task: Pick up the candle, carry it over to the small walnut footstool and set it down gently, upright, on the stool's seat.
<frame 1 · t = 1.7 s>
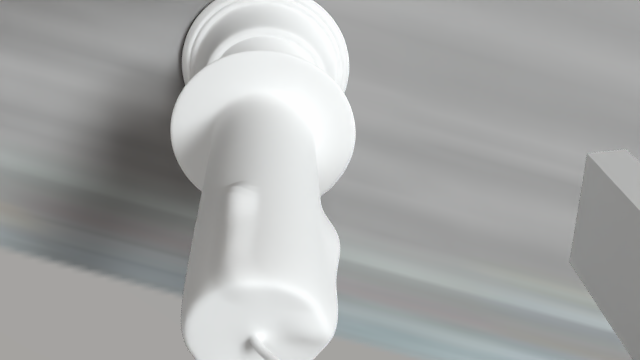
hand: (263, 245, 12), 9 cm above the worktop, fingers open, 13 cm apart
candle: (266, 65, 19), on the worktop
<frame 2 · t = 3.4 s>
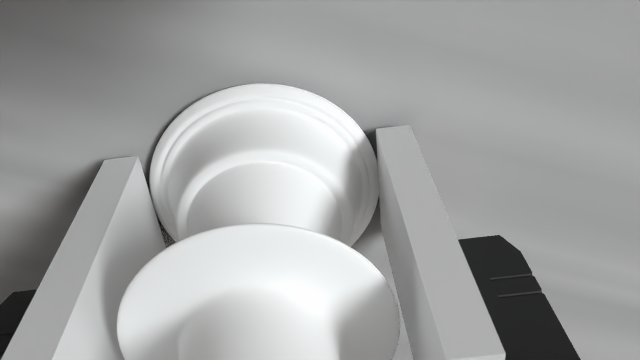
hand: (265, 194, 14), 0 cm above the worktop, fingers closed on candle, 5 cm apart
candle: (266, 182, 14), on the worktop, touching gripper
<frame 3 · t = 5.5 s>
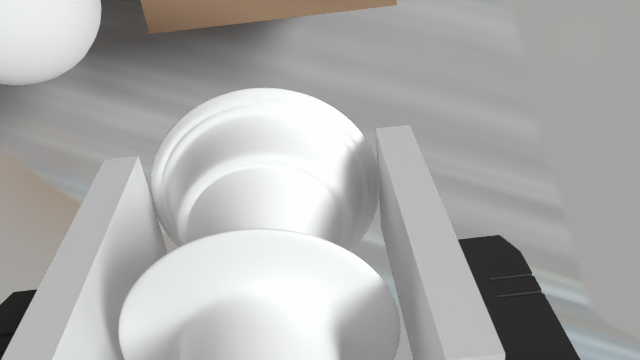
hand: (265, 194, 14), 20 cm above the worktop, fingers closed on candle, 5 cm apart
candle: (267, 185, 14), point 19 cm above the worktop, touching gripper
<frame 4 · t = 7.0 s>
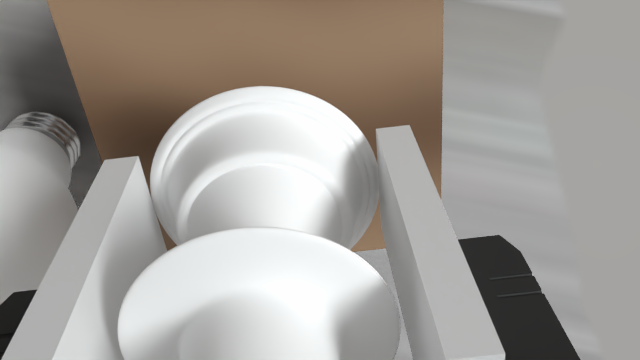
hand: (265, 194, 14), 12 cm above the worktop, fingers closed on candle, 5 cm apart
light bulb: (52, 131, 25), on the worktop
candle: (266, 184, 14), point 11 cm above the worktop, touching gripper
stool: (272, 36, 24), on the worktop
when the fingers open (9 cm above the worktop, at t = 7.8 s): candle stays where it is, resting on stool.
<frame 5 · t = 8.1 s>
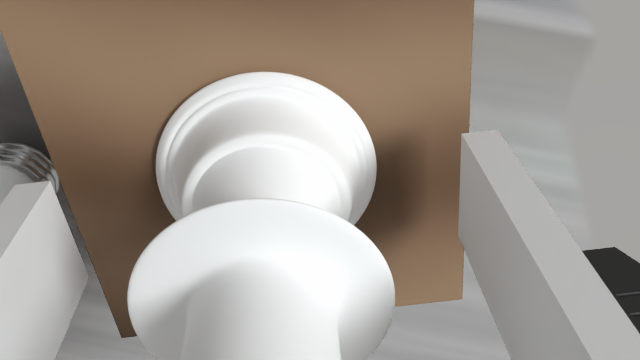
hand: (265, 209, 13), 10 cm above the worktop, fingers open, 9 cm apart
light bulb: (29, 161, 23), on the worktop
candle: (267, 168, 15), point 8 cm above the worktop, touching stool
stool: (271, 59, 21), on the worktop
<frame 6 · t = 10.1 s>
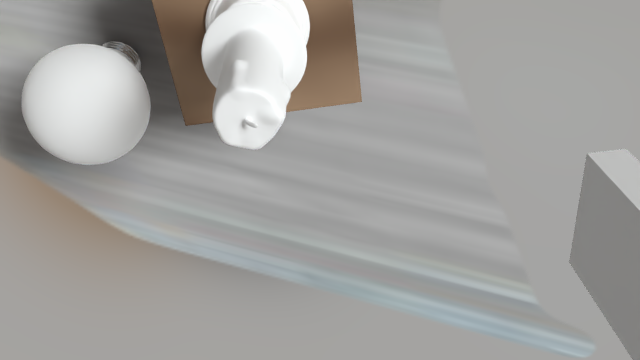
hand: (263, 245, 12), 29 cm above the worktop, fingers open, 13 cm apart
light bulb: (121, 57, 39), on the worktop
candle: (258, 24, 30), point 8 cm above the worktop, touching stool
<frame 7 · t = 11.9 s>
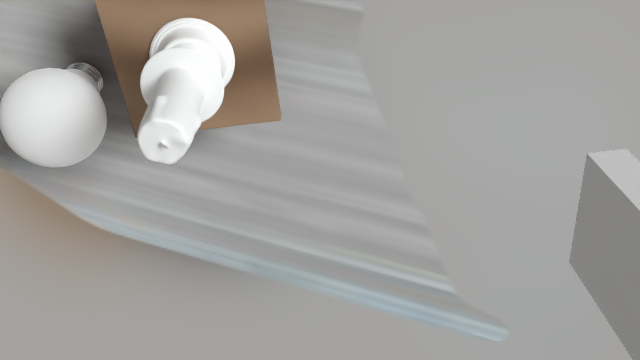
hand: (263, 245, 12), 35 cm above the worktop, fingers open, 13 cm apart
light bulb: (87, 75, 46), on the worktop
candle: (193, 57, 37), point 8 cm above the worktop, touching stool
stool: (206, 22, 44), on the worktop
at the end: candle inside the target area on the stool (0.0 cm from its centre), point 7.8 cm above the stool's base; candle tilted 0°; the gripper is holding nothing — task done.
